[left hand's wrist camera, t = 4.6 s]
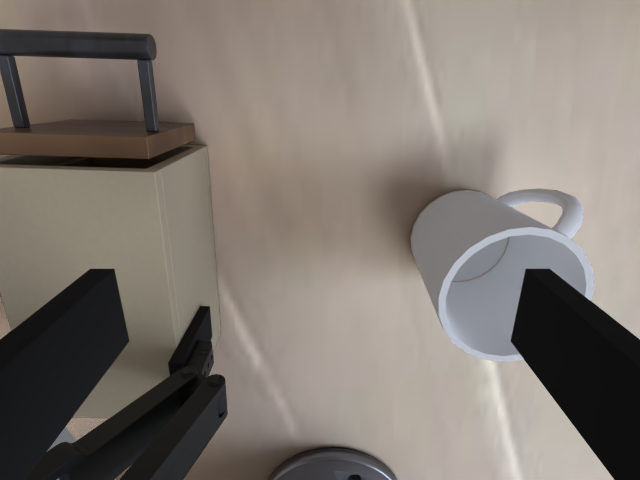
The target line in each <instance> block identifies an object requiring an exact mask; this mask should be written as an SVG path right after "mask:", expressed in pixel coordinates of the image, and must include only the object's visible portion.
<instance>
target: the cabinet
mask: <svg viewBox="0 0 640 480" xmlns="http://www.w3.org/2000/svg"><path fill="white" fill-rule="evenodd" d="M76 158H79V157H65V156H33V155H11V156H6V157H2V158H0V294H1V297H2V301H3V304H4V307H5V311H6V314H7V317H8V321H9V324H10V327H11V331H12V330H13V329H14V328H16V327H17V326H18V325H20V324H21V323H22V322H23V321H25V320H26V319H27V318H28V317H30V316H31V315H32V314H33V313H35V312H36V311H37V310H39V309H40V308H41V307H42V306H44V305H45V304H46V303H47V302H49V301H50V300H51V299H53V298H54V297H55V296H56V295H58V294H59V293H60V292H61V291H63V290H64V289H65V288H66V287H68V286H69V285H70V284H72V283H73V282H74V281H75V280H77V279H78V278H79V277H80V276H82V275H83V274H84V273H86V272H87V271H88V270H89V269H115V274H116V279H117V284H118V288H119V293H120V298H121V303H122V308H123V312H124V317H125V322H126V327H127V332H128V336H129V343H128V344H127V345H126V347H125V348H124V349H123V351H122V352H121V353H120V355H119V356H118V357H117V359H116V360H115V361H114V362H113V364H112V365H111V366H110V368H109V369H108V370H107V372H106V373H105V374H104V376H103V377H102V378H101V380H100V381H99V382H98V384H97V385H96V386H95V388H94V389H93V390H92V392H91V393H90V394H89V396H88V397H87V398H86V400H85V401H84V402H83V404H82V405H81V406H80V408H79V409H78V410H77V412H76V413H75V414H74V416H73V417H76V418H110V417H112V416H113V415H115V414H116V413H118V412H119V411H120V410H122V409H123V408H125V407H126V406H128V405H129V404H130V403H132V402H133V401H135V400H136V399H138V398H139V397H140V396H142V395H143V394H145V393H146V392H148V391H149V390H150V389H152V388H153V387H155V386H156V385H158V384H159V383H160V382H162V381H163V380H165V379H166V378H168V377H169V376H170V374H169V366H168V362H169V360H170V358H171V357H172V355H173V353H174V351H175V349H176V348H177V346H178V344H179V343H180V341H181V339H182V337H183V335H184V334H185V332H186V330H187V328H188V327H189V325H190V323H191V321H192V319H193V318H194V316H195V314H196V312H197V310H198V309H199V307H200V306H210V313H211V325H212V339H211V342H212V347H213V352H214V350H215V348H216V345H217V343H218V340H219V338H220V335H221V326H220V312H219V298H218V284H217V271H216V257H215V243H214V229H213V216H212V202H211V188H210V174H209V161H208V147H207V146H204V145H182V146H179V147H177V148H175V149H172V150H170V151H167V152H165V153H162V154H160V155H158V156H155V157H153V158H169V159H166V160H164V161H162V162H160V163H158V164H156V165H153V166H151V167H149V168H147V169H137V168H105V167H73V166H51V165H55V164H58V163H62V162H65V161H69V160H72V159H76Z"/></svg>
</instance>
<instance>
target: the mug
mask: <svg viewBox="0 0 640 480" xmlns="http://www.w3.org/2000/svg"><path fill="white" fill-rule="evenodd" d="M526 202H546V203H552V204H557V205H559V206H561V207H562V209H563V212H562V215H561V217H560V219H559V220H558V222H557V224H556V225H555V226H554V227H553V228H550V227H548V226H546V225H545V224H543V223H541V222H539V221H537V220H535V219H533V218H531V217H529V216H527V215H525V214H523V213H521V212H520V211H518V210H516V209H514V208H512V207H513V206H516V205H518V204H521V203H526ZM583 214H584V209H583V207H582V206H581V204H580V202H579V201H578V200H577V199H576V197H574V196H571V195H569V194H566V193H563V192H560V191H558V190H549V189H526V190H519V191H514V192H510V193H507V194H505V195H503V196H501V197H499V198H498V199H497V200H496V199H495V198H493V197H491V196H489V195H486V194H484V193H482V192H480V191H473V190H459V191H452V192H449V193H447V194H444V195H441V196H439V197H438V198H436V199H435V200H433V201H432V202H430V203H429V204H428V205H427V206H426V207H425V208H424V209H423V210H422V211H421V212H420V214H419V215H418V217H417V219H416V221H415V223H414V225H413V228H412V232H411V236H410V239H411V250H412V253H413V256H414V259H415V261H416V264H417V266H418V269H419V271H420V274H421V276H422V279H423V281H424V284H425V286H426V288H427V291H428V293H429V296H430V298H431V301H432V303H433V306H434V308H435V311H436V313H437V315H438V318H439V320H440V323H441V325H442V328H443V330H444V331H445V333H446V334H447V335H448V337H449V338H450V339H451V341H452V342H453V343H454V344H455V345H456V346H458V347H459V348H460V349H462V350H463V351H465V352H466V353H468V354H470V355H473V356H476V357H478V358H481V359H484V360H492V361H500V362H503V361H514V360H522V359H523V357H522V356H521V355H520V353H519V352H518V351H517V349H516V348H515V347H514V345H513V344H512V343H511V336H512V332H513V327H514V322H515V317H516V312H517V308H518V303H519V298H520V293H521V288H522V284H523V279H524V274H525V269H551V270H552V271H553V272H554V273H556V274H557V275H558V276H560V277H561V278H562V279H563V280H565V281H566V282H567V283H568V284H570V285H571V286H572V287H574V288H575V289H576V290H577V291H579V292H580V293H581V294H582V295H584V296H585V297H586V298H587V299H589V300H590V301H592V295H593V288H594V277H593V271H592V265H591V264H590V262H589V260H588V258H587V256H586V254H585V253H584V251H583V250H582V249H581V248H580V247H579V246H578V245H577V244H576V243H575V242H574V241H573V240H571V238H572V237H573V236H574V235H575V234H576V232H577V230H578V229H579V227H580V226H581V224H582V219H583Z"/></svg>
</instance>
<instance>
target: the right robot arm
mask: <svg viewBox="0 0 640 480" xmlns="http://www.w3.org/2000/svg"><path fill="white" fill-rule="evenodd" d="M211 339H212V325H211V313H210V306H200V307H199V309H198V310H197V312H196V314H195V316H194V318H193V319H192V321H191V323H190V325H189V327H188V328H187V330H186V332H185V334H184V335H183V337H182V339H181V341H180V343H179V344H178V346H177V348H176V349H175V351H174V353H173V355H172V357H171V358H170V360H169V362H168V366H169V374H170V376H169V377H168V378H166V379H165V380H163V381H162V382H160V383H159V384H158V385H156V386H155V387H153V388H152V389H150V390H149V391H148V392H146V393H145V394H143V395H142V396H140V397H139V398H138V399H136V400H135V401H133V402H132V403H130V404H129V405H128V406H126V407H125V408H123V409H122V410H120V411H119V412H118V413H116V414H115V415H113V416H112V417H110V418H109V419H108V420H106V421H105V422H103V423H102V424H100V425H99V426H98V427H96V428H95V429H93V430H92V431H90V432H89V433H88V434H86V435H85V436H83V437H82V438H80V439H79V440H78V441H76V442H74V443H68V442H63V443H60V444H58V445H56V446H55V447H54V448H52V449H51V450H49V451H48V452H46V453H45V454H44V456H43V457H42V458H41V460H40V461H39V462H38V464H37V465H36V466H35V468H34V469H33V470H32V472H31V473H30V474H29V476H28V477H27V478H26V480H56V479H58V478H59V479H60V480H114V479H115V478H116V477H117V476H118V475H120V474H121V473H122V472H123V471H124V470H126V469H127V468H128V467H129V466H130V465H131V464H132V466H131V467H130V468H129V469H128V470H127V472H126V473H125V474H124V475H123V476H122V477H121V479H120V480H183V479H184V477H185V476H186V475H187V473H188V472H189V470H190V469H191V467H192V466H193V464H194V463H195V461H196V460H197V459H198V457H199V456H200V454H201V453H202V451H203V450H204V448H205V447H206V445H207V444H208V443H209V441H210V440H211V438H212V437H213V435H214V434H215V432H216V431H217V430H218V428H219V427H220V425H221V424H222V422H223V421H224V419H225V418H226V416H227V414H228V413H227V398H226V386H225V378H224V377H223V376H222V375H217V374H215V375H211V376H209V373H210V371H211V368H212V366H213V363H214V359H213V347H212V342H211ZM208 376H209V377H208ZM269 480H397V479H396V477H395V475H394V474H393V473H392V471H391V470H390V469H389V468H388V467H387V466H386V465H384V464H383V463H382V462H380V461H379V460H377V459H375V458H374V457H372V456H369V455H367V454H364V453H362V452H358V451H354V450H349V449H342V448H324V449H317V450H312V451H307V452H304V453H301V454H299V455H296V456H294V457H292V458H290V459H288V460H287V461H285V462H284V463H282V464H281V465H280V466H279V467H278V468H277V469H276V470H275V471H274V472H273V473H272V475H271V476H270V478H269Z"/></svg>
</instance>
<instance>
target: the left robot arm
mask: <svg viewBox="0 0 640 480" xmlns="http://www.w3.org/2000/svg"><path fill="white" fill-rule="evenodd" d="M128 343H129V336H128V332H127V327H126V322H125V317H124V312H123V308H122V303H121V298H120V293H119V288H118V284H117V279H116V274H115V269H89V270H88V271H87V272H86V273H84V274H83V275H82V276H80V277H79V278H78V279H77V280H75V281H74V282H73V283H72V284H70V285H69V286H68V287H66V288H65V289H64V290H63V291H61V292H60V293H59V294H58V295H56V296H55V297H54V298H53V299H51V300H50V301H49V302H47V303H46V304H45V305H44V306H42V307H41V308H40V309H39V310H37V311H36V312H35V313H33V314H32V315H31V316H30V317H28V318H27V319H26V320H25V321H23V322H22V323H21V324H20V325H18V326H17V327H16V328H14V329H13V330H12V331H11V332H9V333H8V334H7V335H6V336H4V337H3V338H2V339H0V480H26V478H27V477H28V476H29V474H30V473H31V472H32V470H33V469H34V468H35V466H36V465H37V464H38V462H39V461H40V460H41V458H42V457H43V456H44V454H45V453H46V452H47V450H48V449H49V448H50V446H51V445H52V444H53V442H54V441H55V440H56V438H57V437H58V436H59V434H60V433H61V432H62V430H63V429H64V428H65V426H66V425H67V424H68V422H69V421H70V420H71V418H72V417H73V416H74V414H75V413H76V412H77V410H78V409H79V408H80V406H81V405H82V404H83V402H84V401H85V400H86V398H87V397H88V396H89V394H90V393H91V392H92V390H93V389H94V388H95V386H96V385H97V384H98V382H99V381H100V380H101V378H102V377H103V376H104V374H105V373H106V372H107V370H108V369H109V368H110V366H111V365H112V364H113V362H114V361H115V360H116V359H117V357H118V356H119V355H120V353H121V352H122V351H123V349H124V348H125V347H126V345H127V344H128ZM511 343H512V344H513V345H514V347H515V348H516V349H517V351H518V352H519V353H520V355H521V356H522V357H523V359H524V360H525V361H526V362H527V364H528V365H529V366H530V368H531V369H532V370H533V372H534V373H535V374H536V376H537V377H538V378H539V380H540V381H541V382H542V384H543V385H544V386H545V388H546V389H547V390H548V392H549V393H550V394H551V396H552V397H553V398H554V400H555V401H556V402H557V404H558V405H559V406H560V408H561V409H562V410H563V412H564V413H565V414H566V416H567V417H568V418H569V420H570V421H571V422H572V424H573V425H574V426H575V428H576V429H577V430H578V432H579V433H580V434H581V436H582V437H583V438H584V440H585V441H586V442H587V444H588V445H589V446H590V448H591V449H592V450H593V452H594V453H595V454H596V456H597V457H598V458H599V460H600V461H601V462H602V464H603V465H604V466H605V468H606V469H607V470H608V472H609V473H610V474H611V476H612V477H613V478H614V480H640V339H638V338H637V337H636V336H634V335H633V334H632V333H631V332H629V331H628V330H627V329H626V328H624V327H623V326H622V325H620V324H619V323H618V322H617V321H615V320H614V319H613V318H612V317H610V316H609V315H608V314H607V313H605V312H604V311H603V310H601V309H600V308H599V307H598V306H596V305H595V304H594V303H593V302H591V301H590V300H589V299H587V298H586V297H585V296H584V295H582V294H581V293H580V292H579V291H577V290H576V289H575V288H574V287H572V286H571V285H570V284H568V283H567V282H566V281H565V280H563V279H562V278H561V277H560V276H558V275H557V274H556V273H554V272H553V271H552V270H551V269H525V274H524V279H523V284H522V288H521V293H520V298H519V303H518V308H517V312H516V317H515V322H514V327H513V332H512V336H511Z"/></svg>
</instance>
